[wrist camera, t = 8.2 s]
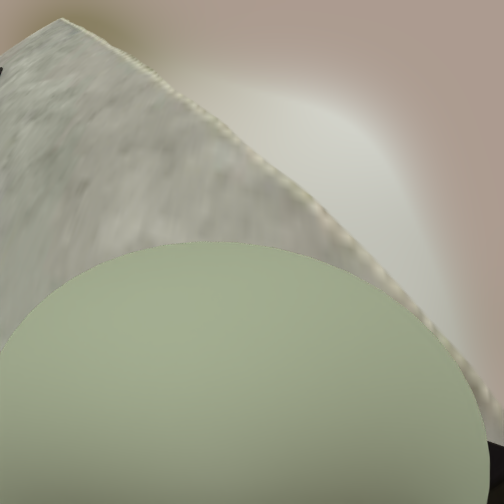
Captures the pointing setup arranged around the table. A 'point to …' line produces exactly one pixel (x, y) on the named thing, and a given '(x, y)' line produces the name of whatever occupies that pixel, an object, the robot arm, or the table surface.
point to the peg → (233, 389)
